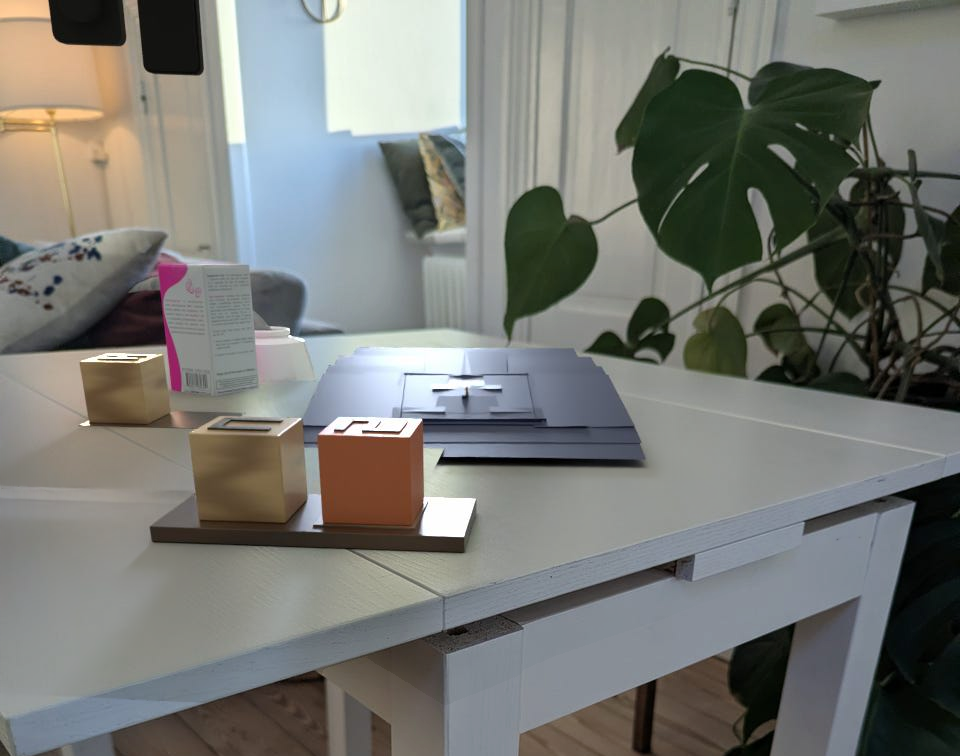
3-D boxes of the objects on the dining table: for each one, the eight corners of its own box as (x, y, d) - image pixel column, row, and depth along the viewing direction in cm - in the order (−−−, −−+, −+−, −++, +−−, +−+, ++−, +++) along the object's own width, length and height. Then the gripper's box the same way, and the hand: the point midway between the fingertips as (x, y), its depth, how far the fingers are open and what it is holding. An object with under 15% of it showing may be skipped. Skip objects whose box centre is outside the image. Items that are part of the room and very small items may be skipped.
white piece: (309, 389, 90) (302, 278, 86) (122, 388, 90) (106, 277, 86) (323, 374, 99) (317, 273, 95) (152, 373, 99) (138, 272, 95)
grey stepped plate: (591, 377, 90) (594, 338, 88) (646, 497, 64) (651, 446, 62) (337, 376, 89) (334, 337, 87) (290, 497, 64) (284, 445, 62)
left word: (79, 435, 70) (67, 361, 68) (116, 419, 76) (106, 350, 74) (219, 439, 70) (212, 364, 67) (246, 422, 75) (240, 353, 73)
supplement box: (262, 395, 87) (251, 262, 82) (214, 404, 82) (200, 264, 78) (218, 389, 90) (205, 260, 85) (169, 398, 85) (153, 262, 81)
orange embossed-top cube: (322, 523, 48) (316, 432, 46) (342, 498, 52) (337, 414, 50) (411, 526, 47) (409, 435, 45) (424, 501, 52) (422, 417, 50)
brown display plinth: (151, 541, 48) (136, 435, 45) (200, 503, 54) (189, 408, 52) (464, 552, 46) (464, 443, 44) (476, 512, 53) (477, 416, 51)
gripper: (98, -308, 48) (136, 80, 55) (-134, -564, 32) (-39, 27, 39) (242, -307, 47) (262, 85, 54) (78, -567, 31) (136, 32, 39)
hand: (136, 60), depth 47 cm, fingers open, 9 cm apart
